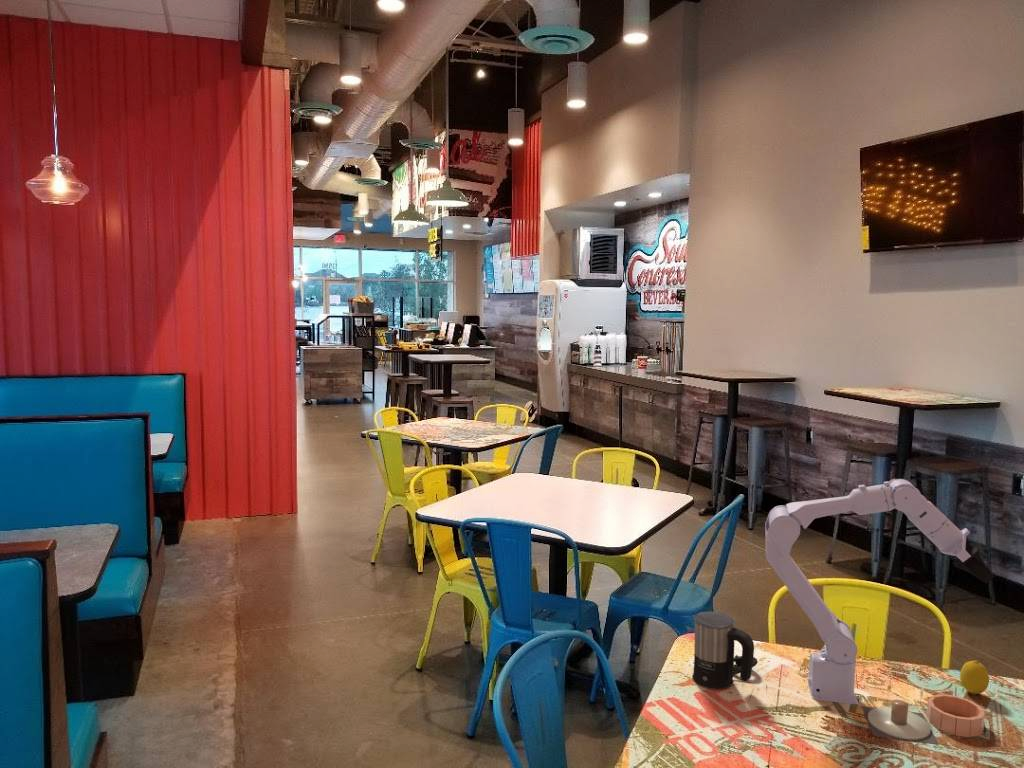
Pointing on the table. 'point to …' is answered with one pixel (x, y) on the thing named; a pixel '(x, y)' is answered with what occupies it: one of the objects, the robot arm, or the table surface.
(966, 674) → the lemon
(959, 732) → the bowl
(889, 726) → the lid
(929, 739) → the mat
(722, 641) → the milk frother
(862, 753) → the table surface
